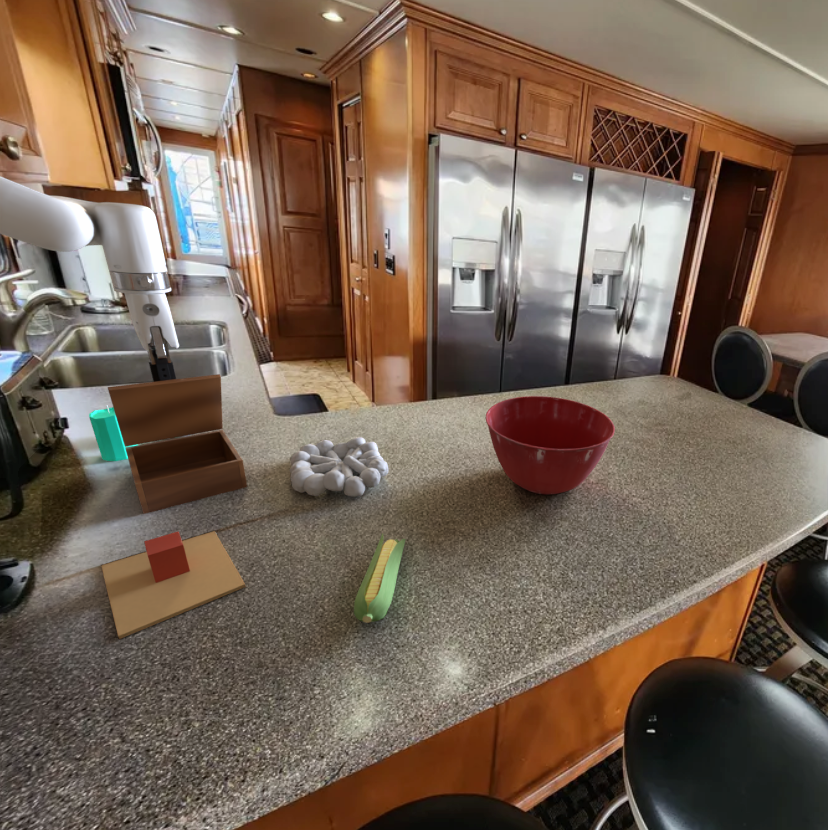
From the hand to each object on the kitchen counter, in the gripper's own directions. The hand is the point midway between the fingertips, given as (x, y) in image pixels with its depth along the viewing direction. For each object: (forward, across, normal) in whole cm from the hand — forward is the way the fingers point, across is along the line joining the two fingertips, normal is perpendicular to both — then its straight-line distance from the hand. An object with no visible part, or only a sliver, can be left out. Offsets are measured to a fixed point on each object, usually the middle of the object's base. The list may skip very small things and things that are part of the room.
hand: (165, 382), depth 86 cm
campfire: (+20, -17, -24) cm, 35 cm away
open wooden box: (+20, -4, 0) cm, 20 cm away
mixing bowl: (+20, -44, -60) cm, 77 cm away
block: (+20, -31, +7) cm, 37 cm away
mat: (+20, -31, +7) cm, 37 cm away
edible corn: (+20, -52, -17) cm, 58 cm away
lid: (+6, -1, 0) cm, 6 cm away
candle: (+20, +15, +9) cm, 27 cm away
